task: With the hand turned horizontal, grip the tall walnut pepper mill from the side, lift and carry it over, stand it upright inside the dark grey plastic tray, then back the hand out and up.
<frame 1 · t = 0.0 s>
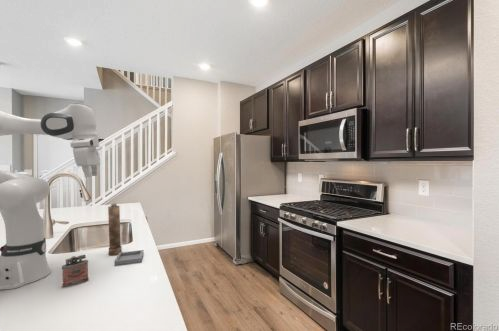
hand: (91, 176, 104), 39 cm above the counter, tool pointing down, fingers open, 8 cm apart
lighter: (75, 283, 93), on the counter
pepper mill: (115, 253, 122), on the counter
tray: (129, 259, 114), on the counter
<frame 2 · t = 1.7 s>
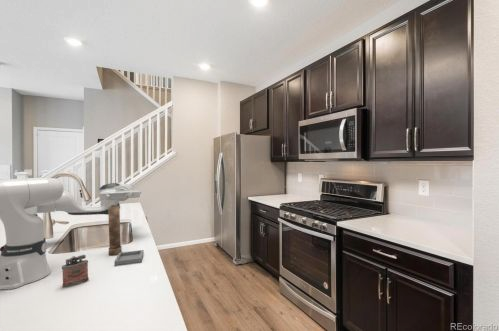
hand: (118, 196, 133), 26 cm above the counter, tool horizontal, fingers open, 8 cm apart
nothing on the counter moved.
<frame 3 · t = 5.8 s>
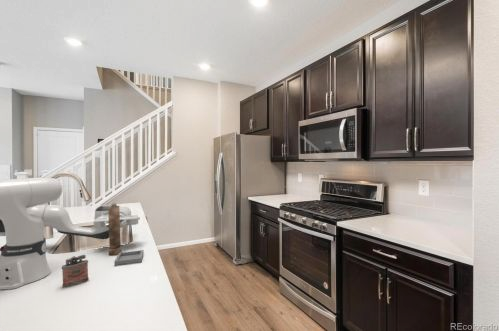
hand: (114, 225, 120), 14 cm above the counter, tool horizontal, fingers closed on pepper mill, 5 cm apart
pepper mill: (115, 253, 122), on the counter, touching gripper
everything else where it was.
when the fingers open (16 cm above the counter, at t = 11.0 s): pepper mill stays where it is, resting on tray.
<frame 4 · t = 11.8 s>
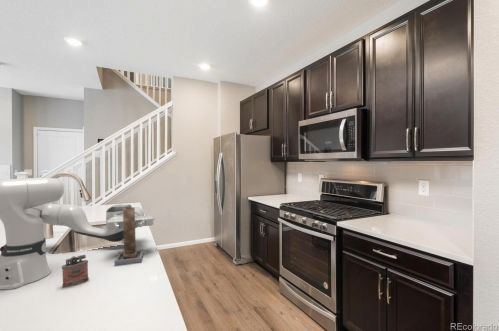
hand: (128, 226, 112), 16 cm above the counter, tool horizontal, fingers open, 8 cm apart
pepper mill: (130, 258, 114), resting on tray
everything else where it was.
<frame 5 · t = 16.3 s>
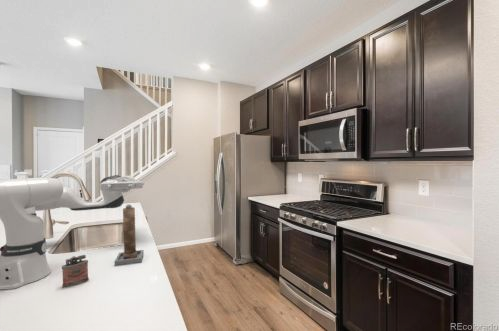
hand: (119, 186, 126), 32 cm above the counter, tool horizontal, fingers open, 8 cm apart
nothing on the counter moved.
at the end: pepper mill 0.1 cm off-centre on the tray, point 0.5 cm above the tray's base; pepper mill tilted 0°; the gripper is holding nothing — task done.
